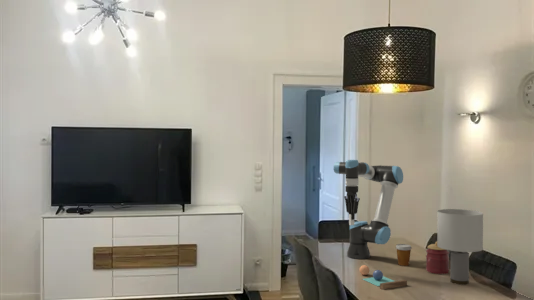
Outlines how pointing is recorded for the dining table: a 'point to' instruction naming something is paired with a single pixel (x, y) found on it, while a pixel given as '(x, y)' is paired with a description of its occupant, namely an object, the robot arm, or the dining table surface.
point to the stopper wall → (393, 284)
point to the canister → (437, 259)
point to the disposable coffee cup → (403, 254)
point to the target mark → (377, 282)
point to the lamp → (460, 239)
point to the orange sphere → (364, 270)
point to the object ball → (377, 275)
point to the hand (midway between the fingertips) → (351, 224)
